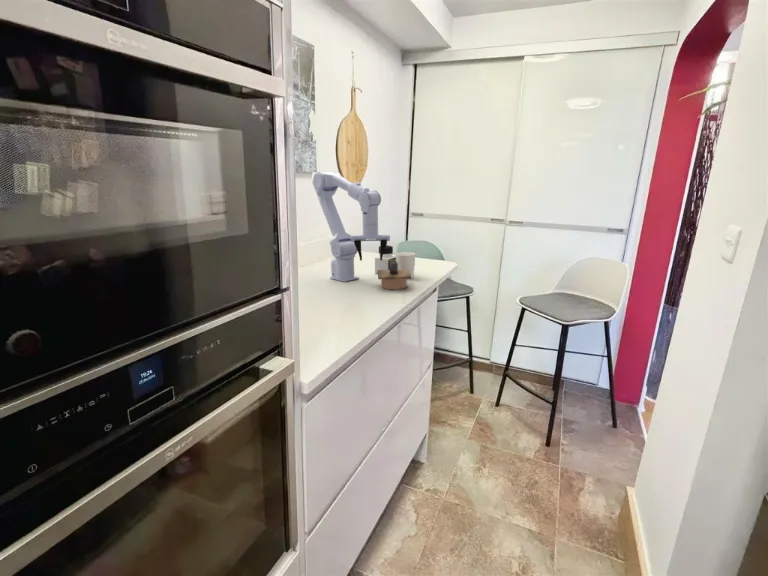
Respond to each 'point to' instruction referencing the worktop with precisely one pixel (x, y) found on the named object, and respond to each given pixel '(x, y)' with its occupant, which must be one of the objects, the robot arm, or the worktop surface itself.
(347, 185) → the robot arm
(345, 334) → the worktop surface
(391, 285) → the bowl
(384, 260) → the medicine bottle
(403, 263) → the white cup
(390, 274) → the lid
